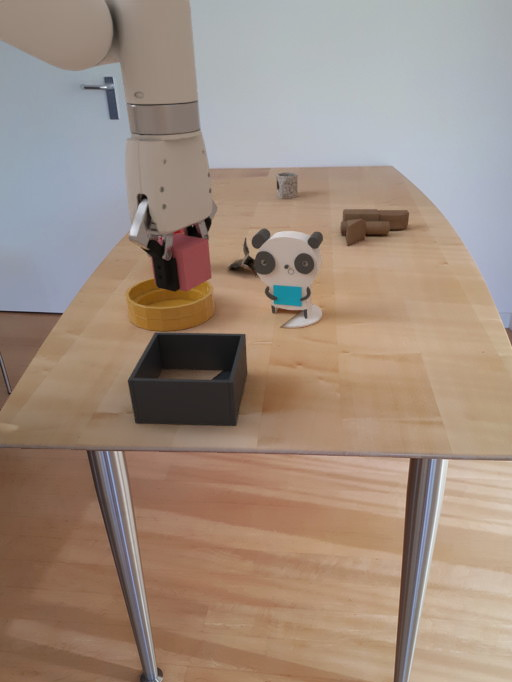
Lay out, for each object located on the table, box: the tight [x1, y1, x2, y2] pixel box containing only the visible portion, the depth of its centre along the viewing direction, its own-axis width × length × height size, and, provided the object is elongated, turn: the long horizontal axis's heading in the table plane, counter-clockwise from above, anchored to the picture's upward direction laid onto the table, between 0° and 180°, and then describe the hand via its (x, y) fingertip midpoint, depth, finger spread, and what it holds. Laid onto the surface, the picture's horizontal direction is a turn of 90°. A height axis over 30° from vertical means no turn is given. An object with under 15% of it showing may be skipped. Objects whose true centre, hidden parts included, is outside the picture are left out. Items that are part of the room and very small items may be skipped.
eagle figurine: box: [227, 236, 258, 277], centre depth 117 cm, size 8×7×9 cm
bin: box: [127, 331, 248, 427], centre depth 74 cm, size 13×13×7 cm
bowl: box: [124, 277, 216, 332], centre depth 98 cm, size 15×15×5 cm
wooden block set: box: [340, 208, 410, 247], centre depth 138 cm, size 17×6×18 cm
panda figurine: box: [251, 228, 324, 329], centre depth 95 cm, size 12×11×15 cm
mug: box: [276, 171, 298, 199], centre depth 174 cm, size 10×7×7 cm
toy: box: [150, 234, 212, 291], centre depth 67 cm, size 5×5×5 cm
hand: (183, 279), depth 68 cm, fingers closed on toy, 5 cm apart
